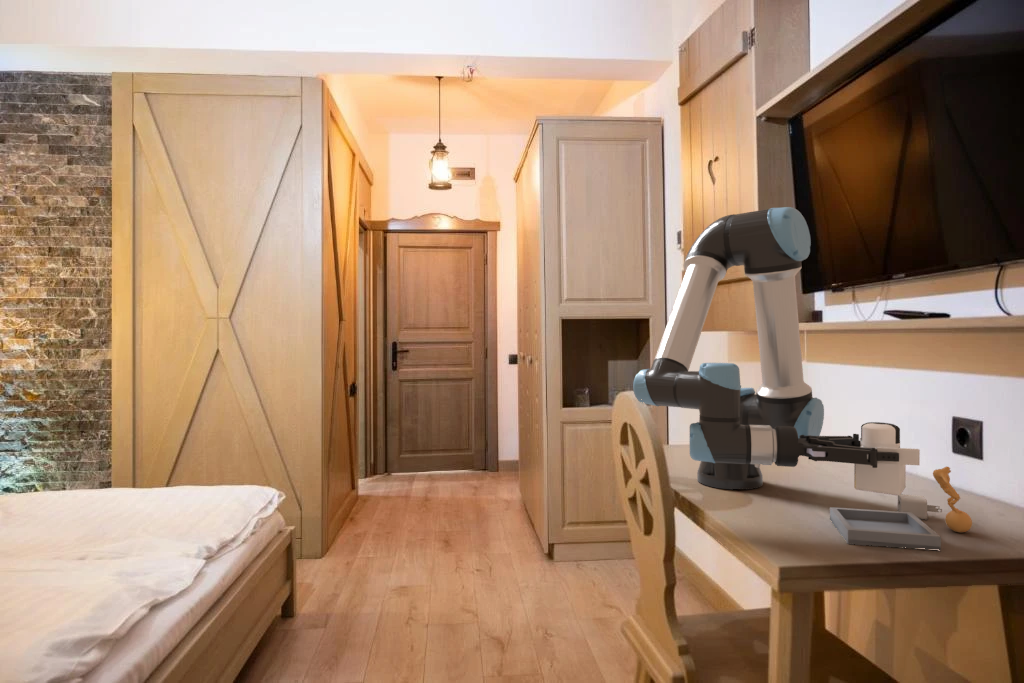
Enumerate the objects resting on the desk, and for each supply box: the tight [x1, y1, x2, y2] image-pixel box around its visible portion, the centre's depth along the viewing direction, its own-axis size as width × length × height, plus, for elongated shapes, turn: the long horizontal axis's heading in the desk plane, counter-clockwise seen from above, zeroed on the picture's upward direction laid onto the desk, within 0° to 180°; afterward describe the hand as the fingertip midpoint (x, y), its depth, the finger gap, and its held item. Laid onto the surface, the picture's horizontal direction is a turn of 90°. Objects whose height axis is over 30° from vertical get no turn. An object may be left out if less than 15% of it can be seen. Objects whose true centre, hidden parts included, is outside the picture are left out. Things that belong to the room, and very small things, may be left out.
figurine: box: [932, 466, 973, 533], centre depth 111 cm, size 8×6×12 cm
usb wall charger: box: [897, 493, 943, 521], centre depth 120 cm, size 4×7×4 cm, turn 65°
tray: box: [829, 507, 942, 551], centre depth 110 cm, size 14×14×2 cm
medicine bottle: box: [854, 421, 907, 497], centre depth 110 cm, size 7×7×12 cm
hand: (908, 451), depth 108 cm, fingers closed on medicine bottle, 9 cm apart
